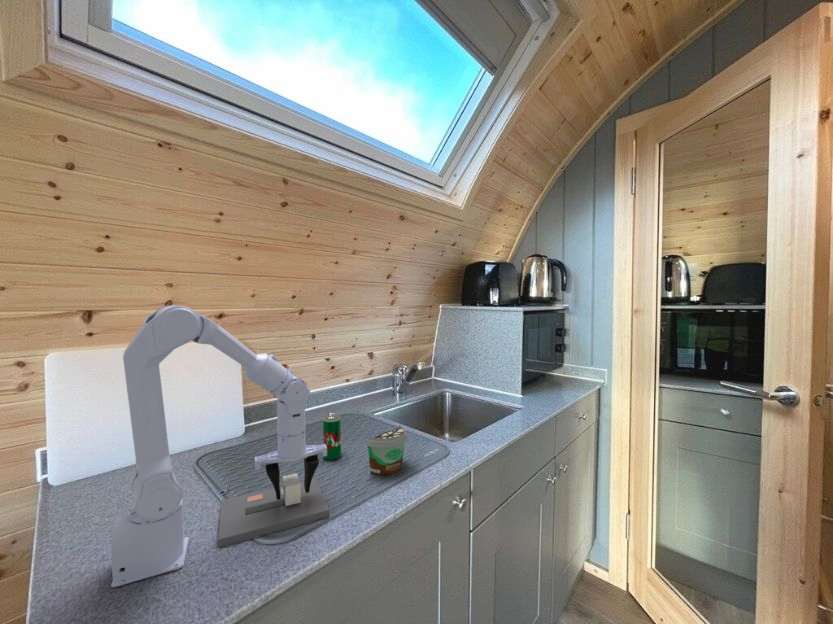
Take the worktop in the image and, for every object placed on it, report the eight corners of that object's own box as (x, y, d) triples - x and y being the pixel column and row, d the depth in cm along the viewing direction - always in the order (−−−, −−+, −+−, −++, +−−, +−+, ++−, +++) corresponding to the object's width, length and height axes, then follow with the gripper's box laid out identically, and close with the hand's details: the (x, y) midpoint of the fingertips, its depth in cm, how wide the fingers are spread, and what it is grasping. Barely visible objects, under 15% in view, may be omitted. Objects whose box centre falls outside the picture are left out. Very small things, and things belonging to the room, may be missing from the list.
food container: (382, 484, 86) (381, 443, 85) (365, 475, 90) (365, 437, 89) (416, 466, 95) (416, 429, 94) (400, 459, 99) (400, 424, 99)
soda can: (334, 451, 104) (333, 411, 103) (345, 456, 101) (344, 415, 100) (319, 457, 100) (318, 415, 100) (330, 463, 97) (329, 419, 96)
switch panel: (218, 547, 64) (218, 539, 64) (221, 507, 77) (221, 499, 77) (329, 516, 73) (329, 509, 73) (316, 484, 86) (315, 478, 86)
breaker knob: (285, 506, 74) (285, 487, 73) (283, 494, 78) (282, 476, 78) (300, 502, 75) (300, 483, 75) (297, 490, 79) (297, 473, 79)
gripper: (322, 420, 83) (322, 477, 83) (253, 431, 76) (255, 493, 77) (328, 430, 76) (329, 492, 77) (255, 443, 70) (256, 510, 71)
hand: (292, 493), depth 76 cm, fingers open, 5 cm apart
